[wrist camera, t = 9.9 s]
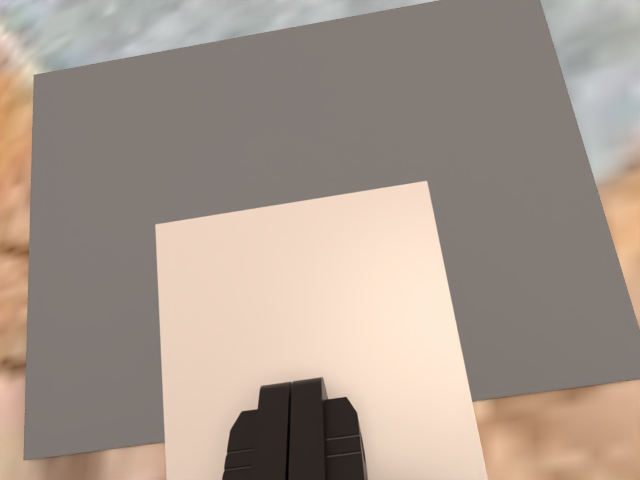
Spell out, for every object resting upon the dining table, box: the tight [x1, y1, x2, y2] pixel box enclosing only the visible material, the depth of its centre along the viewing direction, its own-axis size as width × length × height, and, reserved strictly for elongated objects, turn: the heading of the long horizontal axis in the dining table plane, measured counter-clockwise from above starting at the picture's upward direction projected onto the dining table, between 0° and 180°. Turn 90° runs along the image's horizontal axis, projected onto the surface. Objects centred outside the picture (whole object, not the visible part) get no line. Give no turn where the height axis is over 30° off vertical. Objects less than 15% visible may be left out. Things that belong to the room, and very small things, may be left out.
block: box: [155, 181, 488, 480], centre depth 16 cm, size 3×9×10 cm
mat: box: [24, 0, 640, 460], centre depth 20 cm, size 16×22×1 cm
